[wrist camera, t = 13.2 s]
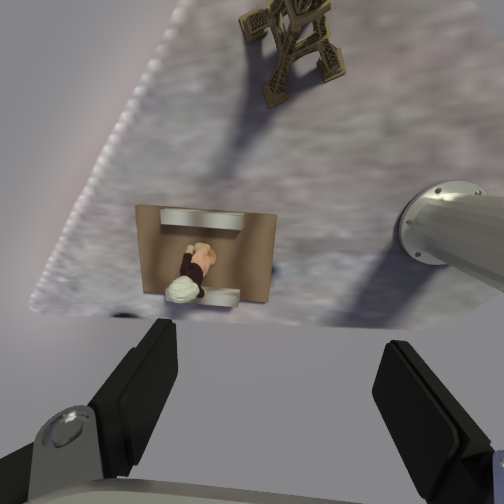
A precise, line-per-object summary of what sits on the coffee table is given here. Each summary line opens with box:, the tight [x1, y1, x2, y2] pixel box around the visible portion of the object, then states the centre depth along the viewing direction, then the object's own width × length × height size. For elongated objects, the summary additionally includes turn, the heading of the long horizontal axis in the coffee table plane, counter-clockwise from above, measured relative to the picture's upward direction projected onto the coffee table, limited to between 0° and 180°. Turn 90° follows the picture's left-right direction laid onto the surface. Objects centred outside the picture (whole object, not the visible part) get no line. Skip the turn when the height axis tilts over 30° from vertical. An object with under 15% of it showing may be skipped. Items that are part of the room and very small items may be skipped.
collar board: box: [135, 204, 277, 307], centre depth 38 cm, size 22×15×4 cm
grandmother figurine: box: [168, 243, 215, 303], centre depth 32 cm, size 8×4×13 cm, turn 24°
